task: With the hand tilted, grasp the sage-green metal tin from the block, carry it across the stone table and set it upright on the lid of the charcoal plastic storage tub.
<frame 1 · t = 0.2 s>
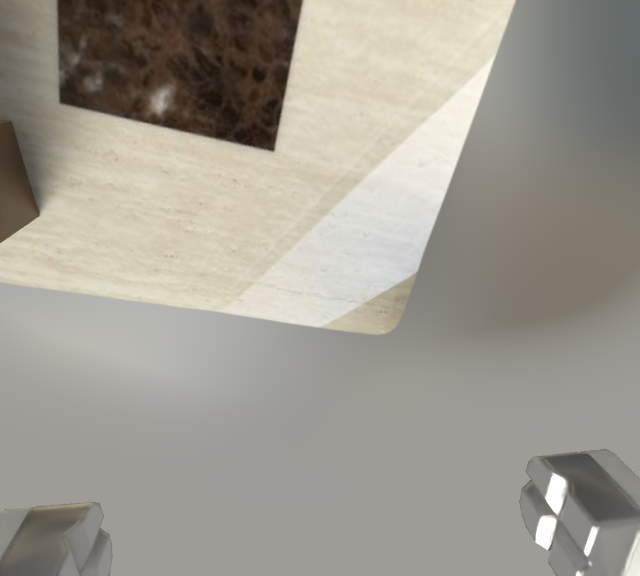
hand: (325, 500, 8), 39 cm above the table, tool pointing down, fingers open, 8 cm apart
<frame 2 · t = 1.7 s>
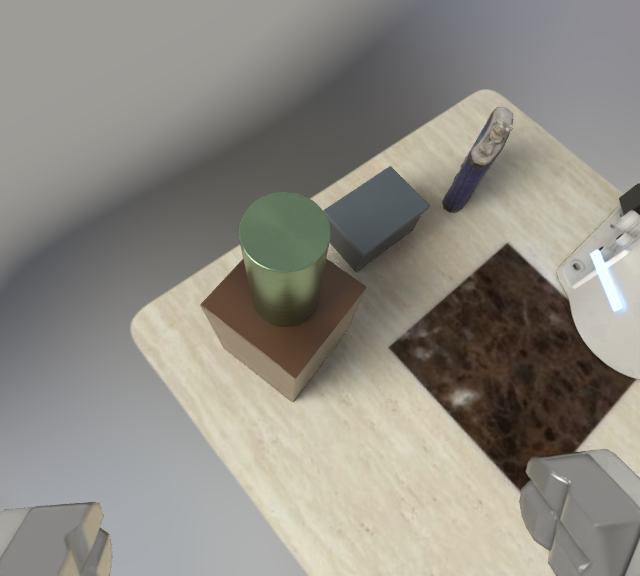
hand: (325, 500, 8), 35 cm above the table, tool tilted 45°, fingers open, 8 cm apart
block: (285, 340, 45), on the table
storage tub: (368, 232, 50), on the table
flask: (462, 186, 54), on the table
tin: (285, 295, 33), point 13 cm above the table, touching block
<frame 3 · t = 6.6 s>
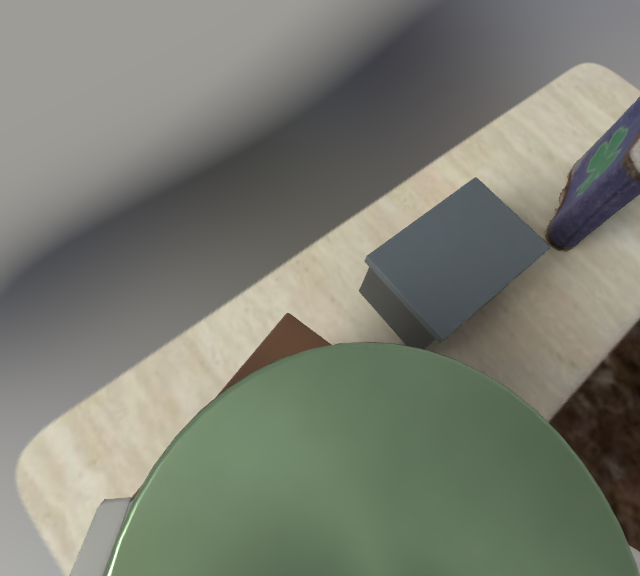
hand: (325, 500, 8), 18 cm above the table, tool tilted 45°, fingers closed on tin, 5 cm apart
block: (297, 489, 25), on the table
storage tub: (432, 285, 31), on the table
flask: (571, 208, 34), on the table
tin: (312, 510, 13), point 13 cm above the table, touching gripper, block
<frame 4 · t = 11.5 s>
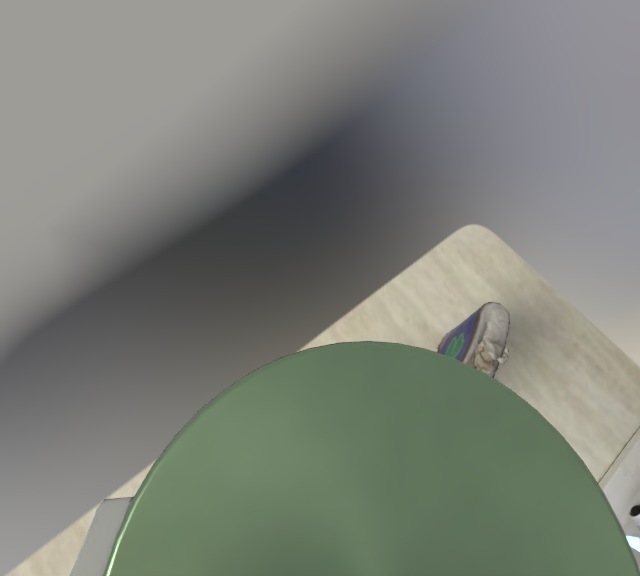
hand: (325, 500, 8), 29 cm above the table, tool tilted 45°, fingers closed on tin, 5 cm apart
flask: (438, 379, 39), on the table
tin: (312, 509, 13), point 23 cm above the table, touching gripper
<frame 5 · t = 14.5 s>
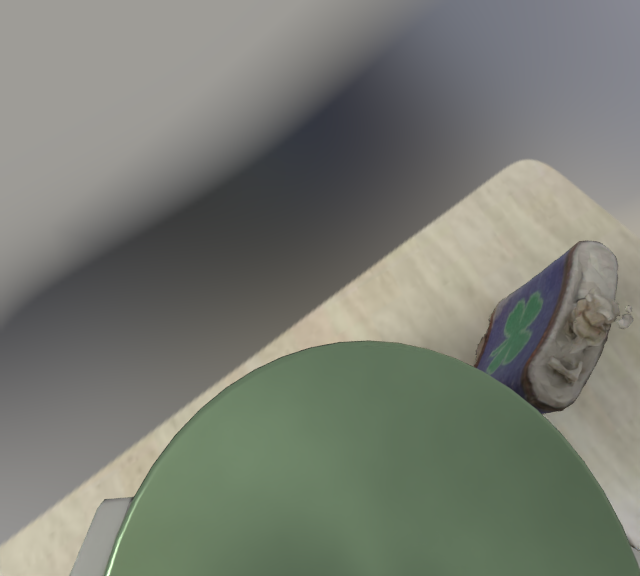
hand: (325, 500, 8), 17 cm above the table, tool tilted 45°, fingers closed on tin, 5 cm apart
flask: (491, 363, 28), on the table
tin: (312, 509, 13), point 12 cm above the table, touching gripper
when the fingers open (10 cm above the table, at t = 16.8 s): tin stays where it is, resting on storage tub.
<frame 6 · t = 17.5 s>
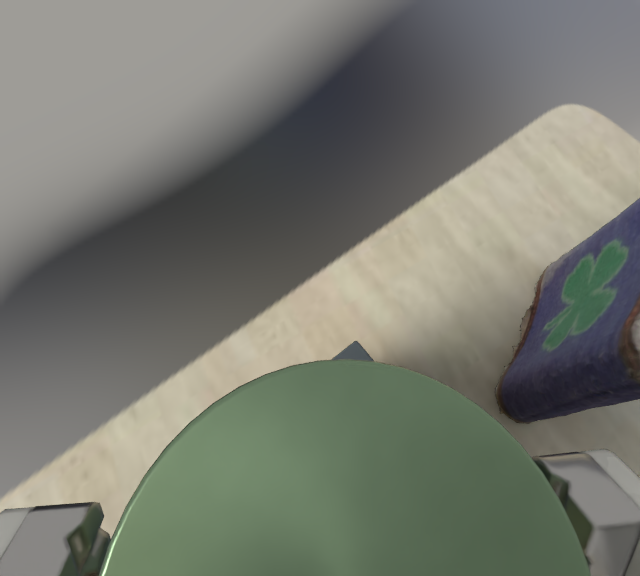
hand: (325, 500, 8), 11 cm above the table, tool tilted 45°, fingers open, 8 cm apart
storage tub: (300, 499, 18), on the table
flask: (540, 341, 22), on the table
tin: (304, 512, 13), point 5 cm above the table, touching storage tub
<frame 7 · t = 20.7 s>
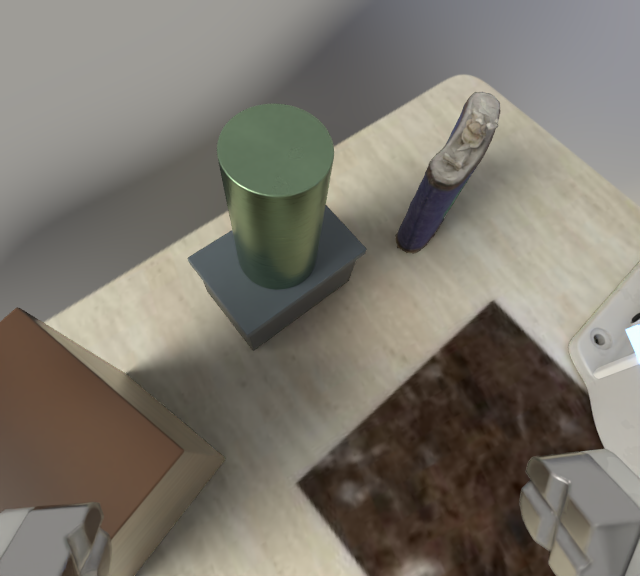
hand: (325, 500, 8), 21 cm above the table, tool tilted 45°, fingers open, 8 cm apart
block: (122, 474, 27), on the table
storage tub: (279, 285, 33), on the table
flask: (426, 212, 37), on the table
tin: (277, 254, 28), point 5 cm above the table, touching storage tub
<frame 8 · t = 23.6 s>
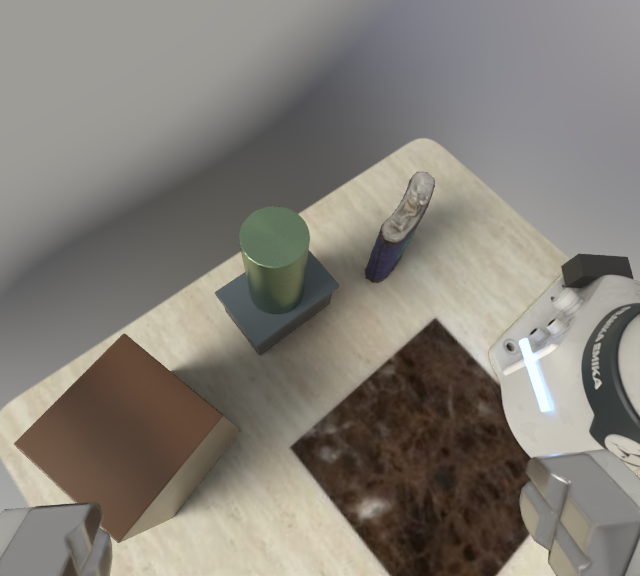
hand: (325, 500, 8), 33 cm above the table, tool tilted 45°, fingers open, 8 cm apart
block: (170, 440, 39), on the table
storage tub: (278, 307, 45), on the table
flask: (388, 251, 49), on the table
tin: (276, 289, 40), point 5 cm above the table, touching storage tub
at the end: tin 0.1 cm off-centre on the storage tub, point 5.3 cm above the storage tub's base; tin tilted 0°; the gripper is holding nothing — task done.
